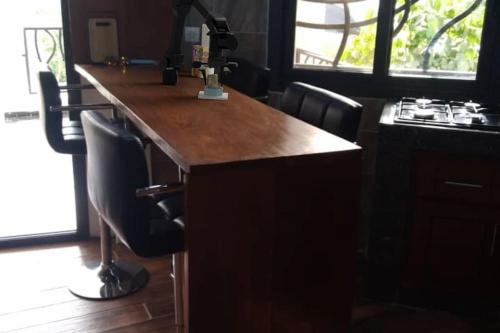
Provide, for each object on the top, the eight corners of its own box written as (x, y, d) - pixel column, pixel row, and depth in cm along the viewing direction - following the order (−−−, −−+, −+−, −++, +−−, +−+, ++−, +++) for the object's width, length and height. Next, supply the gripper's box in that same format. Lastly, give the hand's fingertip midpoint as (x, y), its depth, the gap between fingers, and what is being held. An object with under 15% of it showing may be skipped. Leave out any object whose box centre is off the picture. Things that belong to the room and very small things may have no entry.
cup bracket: (197, 98, 226) (198, 88, 224) (199, 92, 237) (200, 84, 236) (227, 100, 226) (227, 90, 225) (227, 94, 238) (228, 86, 236)
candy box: (208, 78, 279) (209, 47, 274) (201, 78, 276) (202, 47, 272) (198, 75, 285) (199, 45, 281) (191, 75, 283) (192, 45, 278)
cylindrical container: (211, 74, 290) (214, 25, 283) (198, 73, 292) (200, 24, 284) (215, 73, 297) (217, 25, 290) (202, 71, 298) (204, 24, 291)
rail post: (208, 94, 229) (207, 74, 228) (208, 93, 233) (207, 74, 231) (217, 94, 229) (217, 74, 228) (218, 93, 233) (217, 74, 232)
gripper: (191, 48, 218) (189, 87, 222) (238, 51, 218) (236, 91, 223) (193, 45, 228) (191, 83, 233) (238, 49, 229) (236, 86, 234)
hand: (213, 86), depth 230 cm, fingers open, 6 cm apart
